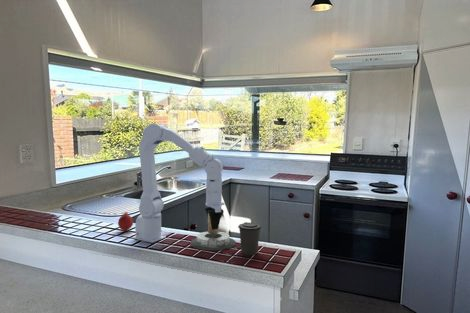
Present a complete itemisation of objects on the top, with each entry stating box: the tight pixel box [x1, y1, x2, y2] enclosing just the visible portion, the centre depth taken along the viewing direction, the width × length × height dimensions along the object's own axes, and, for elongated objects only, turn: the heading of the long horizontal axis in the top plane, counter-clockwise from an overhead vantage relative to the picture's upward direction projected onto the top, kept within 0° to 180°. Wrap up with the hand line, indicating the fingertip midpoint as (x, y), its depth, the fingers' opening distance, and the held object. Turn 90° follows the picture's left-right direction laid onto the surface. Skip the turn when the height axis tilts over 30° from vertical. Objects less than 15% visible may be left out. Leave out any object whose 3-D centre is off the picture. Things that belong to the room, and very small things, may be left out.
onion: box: [117, 211, 134, 232], centre depth 138 cm, size 6×6×8 cm
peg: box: [207, 213, 220, 234], centre depth 124 cm, size 4×4×7 cm
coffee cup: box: [237, 221, 262, 256], centre depth 115 cm, size 8×8×10 cm
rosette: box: [190, 231, 237, 252], centre depth 124 cm, size 17×17×3 cm
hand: (213, 227), depth 124 cm, fingers closed on peg, 4 cm apart
